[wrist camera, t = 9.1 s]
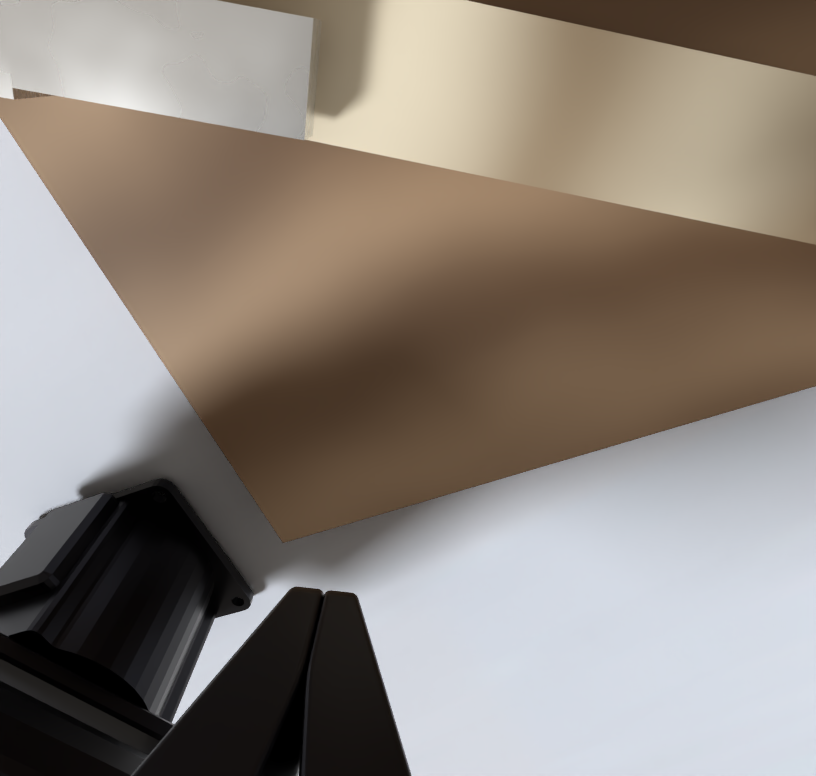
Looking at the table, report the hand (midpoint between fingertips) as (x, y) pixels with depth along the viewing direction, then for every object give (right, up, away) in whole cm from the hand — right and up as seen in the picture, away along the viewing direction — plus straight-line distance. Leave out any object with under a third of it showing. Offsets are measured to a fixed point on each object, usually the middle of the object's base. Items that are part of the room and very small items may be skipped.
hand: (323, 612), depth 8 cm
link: (+6, +9, +6) cm, 12 cm away
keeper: (-4, +11, +6) cm, 13 cm away
